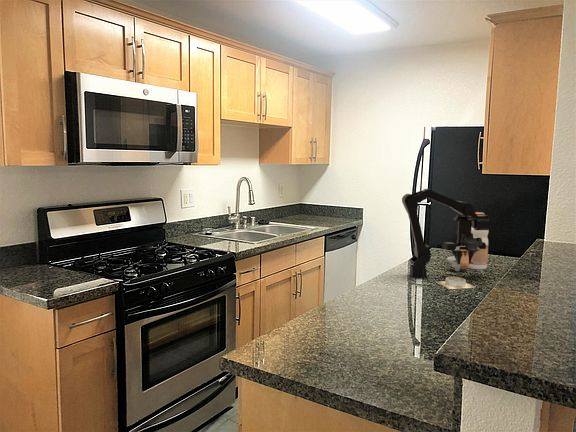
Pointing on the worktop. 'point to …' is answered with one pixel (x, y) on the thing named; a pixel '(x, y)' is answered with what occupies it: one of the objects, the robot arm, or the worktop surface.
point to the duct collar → (455, 281)
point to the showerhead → (453, 262)
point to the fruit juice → (480, 256)
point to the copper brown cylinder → (464, 259)
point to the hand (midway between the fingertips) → (463, 264)
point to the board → (455, 287)
